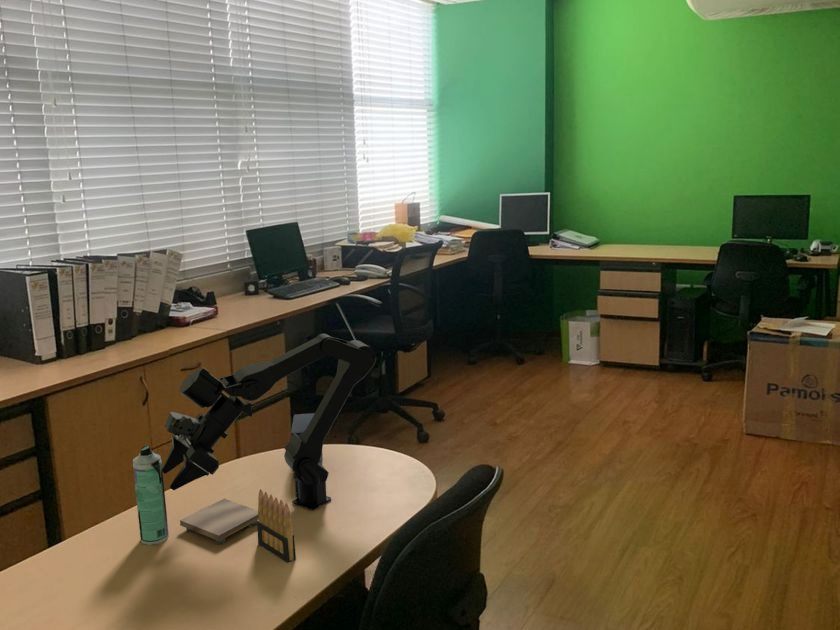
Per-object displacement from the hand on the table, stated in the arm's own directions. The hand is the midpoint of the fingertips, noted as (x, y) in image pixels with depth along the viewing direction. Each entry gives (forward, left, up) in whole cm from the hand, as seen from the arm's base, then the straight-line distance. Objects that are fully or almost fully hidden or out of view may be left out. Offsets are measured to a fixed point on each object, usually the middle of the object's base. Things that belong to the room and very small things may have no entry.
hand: (167, 480), depth 159 cm
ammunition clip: (-23, -7, -12) cm, 27 cm away
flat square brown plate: (-6, -8, -12) cm, 16 cm away
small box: (0, -41, -12) cm, 43 cm away
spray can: (+2, +3, -12) cm, 13 cm away
